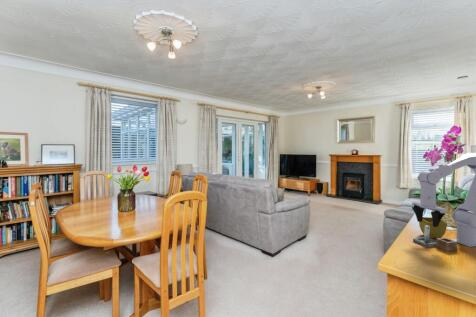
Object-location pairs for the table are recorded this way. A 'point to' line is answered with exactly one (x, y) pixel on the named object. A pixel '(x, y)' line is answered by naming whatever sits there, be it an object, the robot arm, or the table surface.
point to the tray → (421, 241)
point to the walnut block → (446, 244)
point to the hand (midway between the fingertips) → (427, 223)
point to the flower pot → (434, 231)
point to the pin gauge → (426, 234)
